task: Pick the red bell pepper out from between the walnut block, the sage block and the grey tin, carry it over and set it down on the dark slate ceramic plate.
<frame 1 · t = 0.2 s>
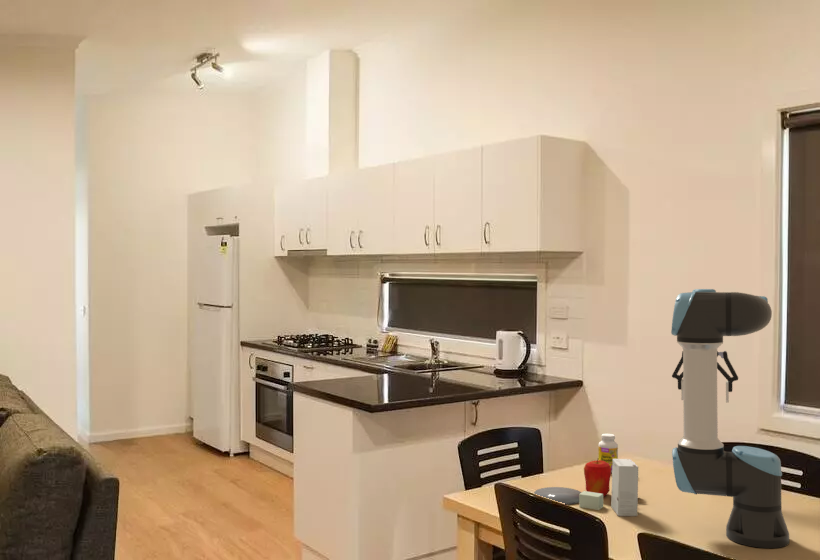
hand: (704, 400, 253), 28 cm above the table, fingers open, 13 cm apart
walnut block: (627, 498, 240), on the table
supplement bottle: (608, 471, 273), on the table
red bell pepper: (597, 495, 244), on the table
skincare box: (624, 512, 226), on the table
grey tin: (621, 503, 234), on the table
plate: (558, 497, 241), on the table
sage block: (591, 507, 232), on the table
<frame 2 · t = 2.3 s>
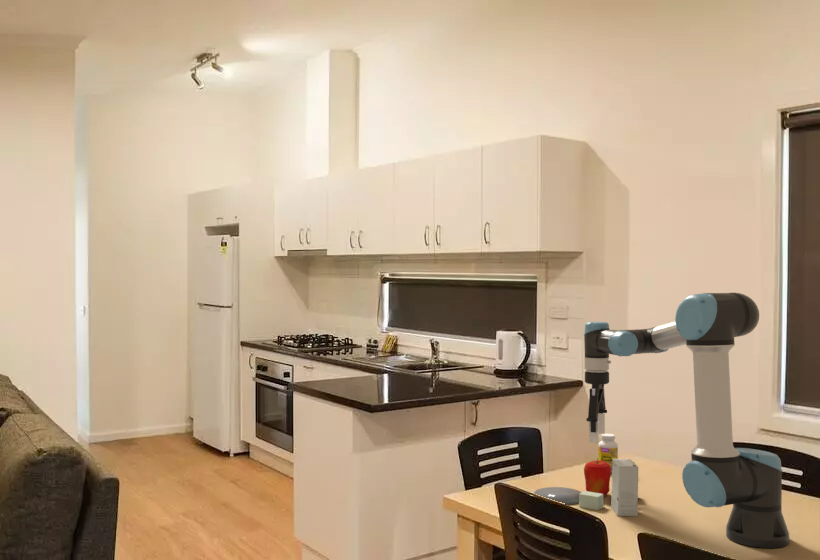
hand: (597, 437, 244), 18 cm above the table, fingers open, 13 cm apart
nothing on the table moved.
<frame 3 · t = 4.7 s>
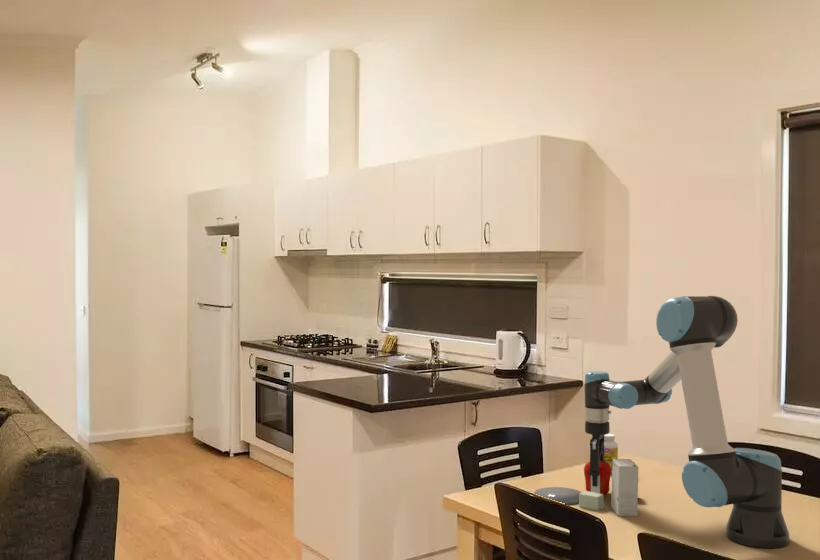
hand: (597, 492, 244), 1 cm above the table, fingers closed on red bell pepper, 9 cm apart
red bell pepper: (597, 495, 244), on the table, touching gripper
everything else where it was.
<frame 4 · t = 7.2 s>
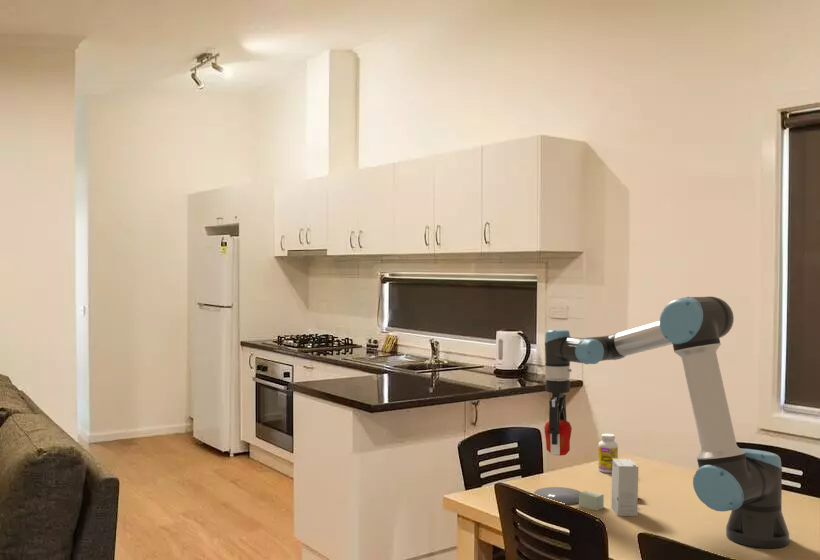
hand: (558, 451, 241), 14 cm above the table, fingers closed on red bell pepper, 9 cm apart
red bell pepper: (558, 454, 241), point 13 cm above the table, touching gripper
everything else where it was.
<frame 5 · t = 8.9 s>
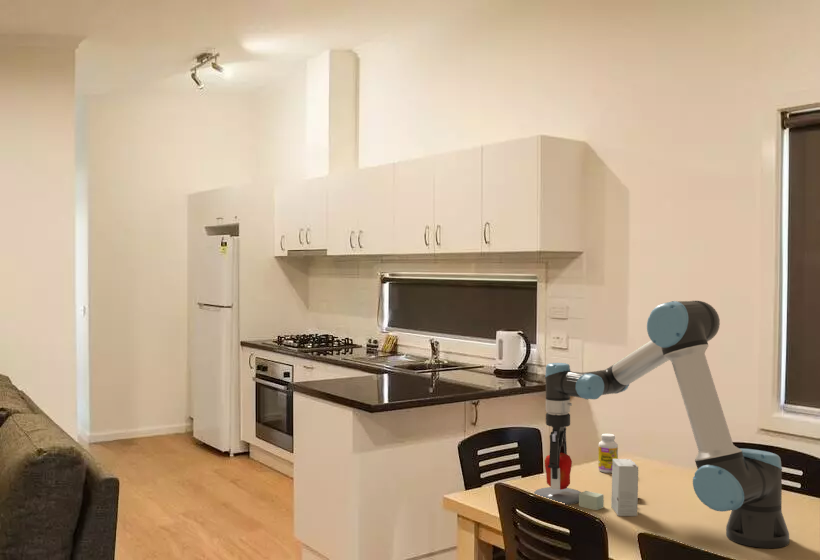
hand: (558, 484, 241), 4 cm above the table, fingers closed on red bell pepper, 9 cm apart
red bell pepper: (558, 488, 241), point 3 cm above the table, touching gripper
everything else where it was.
when the fingers open (3 cm above the table, at t = 9.9 s): red bell pepper drops 1 cm, resting on plate.
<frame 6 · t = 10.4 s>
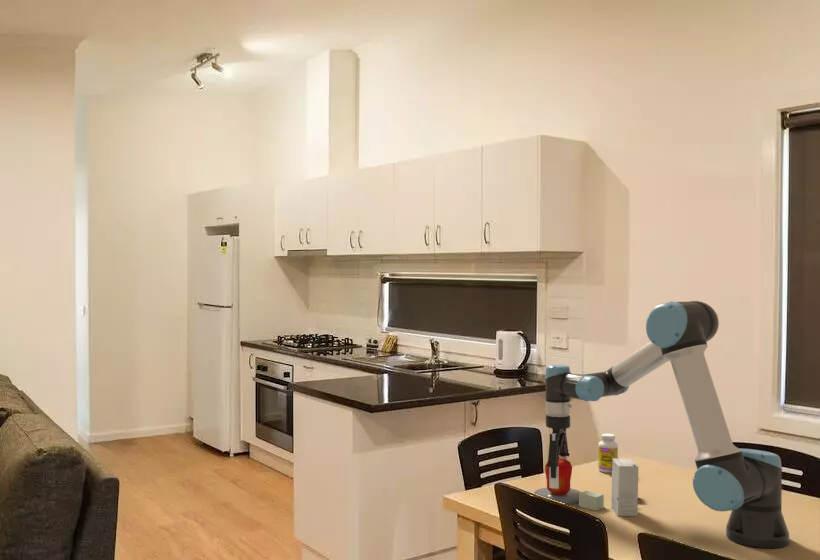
hand: (558, 482, 241), 5 cm above the table, fingers open, 13 cm apart
red bell pepper: (558, 494, 242), point 1 cm above the table, touching plate
everything else where it was.
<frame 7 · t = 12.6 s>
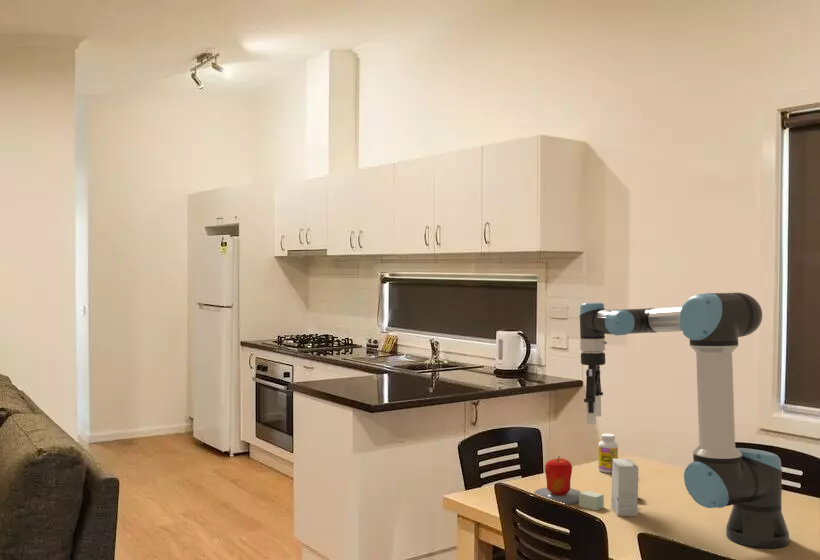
hand: (594, 419, 242), 24 cm above the table, fingers open, 13 cm apart
nothing on the table moved.
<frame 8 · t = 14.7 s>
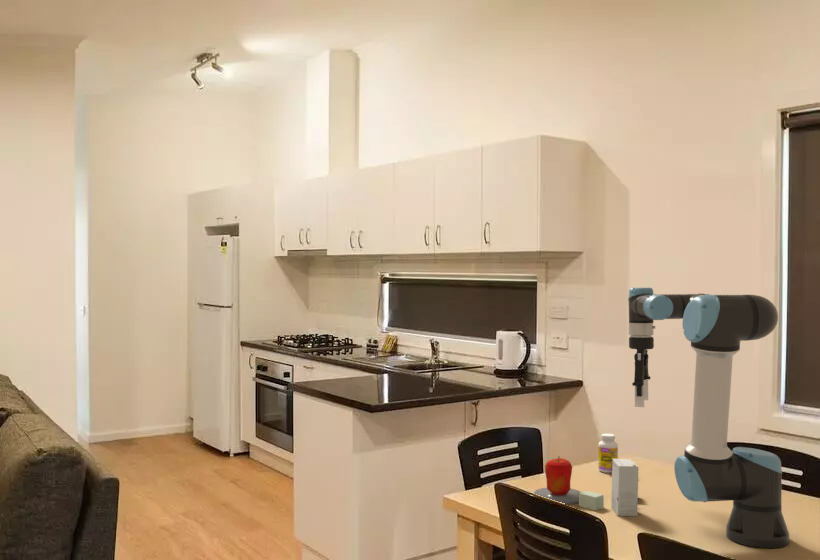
hand: (641, 403, 244), 29 cm above the table, fingers open, 13 cm apart
nothing on the table moved.
at the end: red bell pepper 0.3 cm from the plate (horizontally); red bell pepper touching plate; the gripper is holding nothing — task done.
